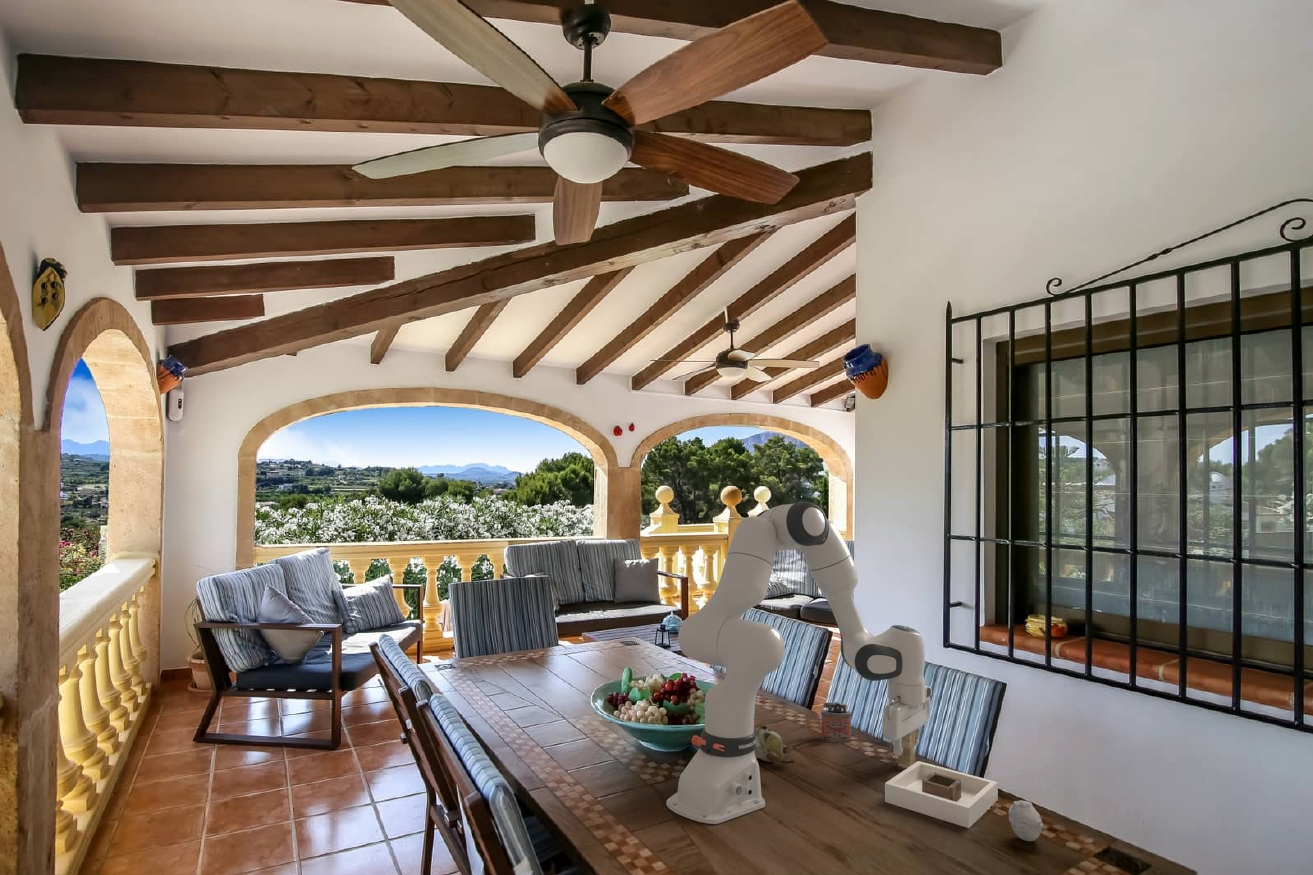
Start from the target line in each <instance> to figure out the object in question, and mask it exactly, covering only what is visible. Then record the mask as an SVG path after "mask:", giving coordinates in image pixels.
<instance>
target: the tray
mask: <svg viewBox="0 0 1313 875" xmlns="http://www.w3.org/2000/svg"><path fill="white" fill-rule="evenodd" d="M998 785H999V784H998V782H997V781H995V780H990V779H988V778H984V777H980V776H977V775H972V774H968V773H965V772H961V771H957V770H953V769H950V768H946V767H942V766H938V765H934V764H932V763H927V762H923V761H919V760H917V761H915V763H914V764H913V765H911V766H910V767H908V768H907V769H904V770H902V771H901V772H899V773H898V774H897V775H895V776H893V777H892V778H890V779H889V780H887V781H886V782H885V783H884V802H885V803H888V804H890V805H893V806H897V807H901V808H903V809H906V810H910V811H913V812H916V813H919V814H922V815H924V816H925V815H926V816H929V817H932V818H936V819H937V820H941V821H945V822H947V823H951V824H954V825H957V826H961V827H964V828H966V829H970V828H971V827H972V826H973V825H975V823H977V821H978V820H979V819H981V817H983V815H985V814H986V813H987V812H988V811H989V810H990V809H991V808H992V807H993V806H994V805H995V804H996V803H997V802H998V801H999V798H998V797H999V795H998V793H999V791H998V790H999V789H998ZM996 801H997V802H996ZM995 802H996V803H995ZM994 803H995V804H994ZM991 806H992V807H991ZM990 807H991V808H990ZM987 810H988V811H987Z"/></svg>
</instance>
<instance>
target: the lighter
mask: <svg viewBox="0 0 1313 875" xmlns="http://www.w3.org/2000/svg"><path fill="white" fill-rule="evenodd" d="M847 706H848V705H847V703H840V702H839V701H835V702H829V701H828V702H826V701H824V702H823V708H825V709H821V710H820V715H821V734H820V740H821V741H823V742H832V743H851V742H852V737H851V717H852V712H851V711H849V710H847ZM850 741H851V742H850Z"/></svg>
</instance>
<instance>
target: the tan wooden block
mask: <svg viewBox="0 0 1313 875" xmlns="http://www.w3.org/2000/svg"><path fill="white" fill-rule="evenodd" d="M901 747H903V754H902V755H900V756H898V755H897V758H898V759H897V761H898V765H897V766H901V767H904V768H908V767H910V766H911V765H913V764H914V763H916V746H915V730H914V731H913V732H911V733H909V734H907V735H906V736H904V737H902V741H901ZM901 767H900V768H901ZM904 768H903V769H904Z"/></svg>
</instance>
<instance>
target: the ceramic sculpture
mask: <svg viewBox="0 0 1313 875" xmlns="http://www.w3.org/2000/svg"><path fill="white" fill-rule="evenodd" d="M754 730H755V731H756V749H755V750H754V751H755V756H756V759H759V760H762V761H764V762H768V763H770V762H771V763H772V764H773V763H774V764H776V765H778V766H779V765H780V766H781V765H789V764H793V763H795V760H793V759H792V758H790V757H789V756H788V755H787V754H789V753H792V752H794V751H795V750H797V749H798V747H797V746H788V745H787V744H784V740H783V738H782V736H781V735H780V734H779V733H778V732H777V731H774V730H770V729H768V726H766V725H763V726H759V727H757V728H756V729H754Z"/></svg>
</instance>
